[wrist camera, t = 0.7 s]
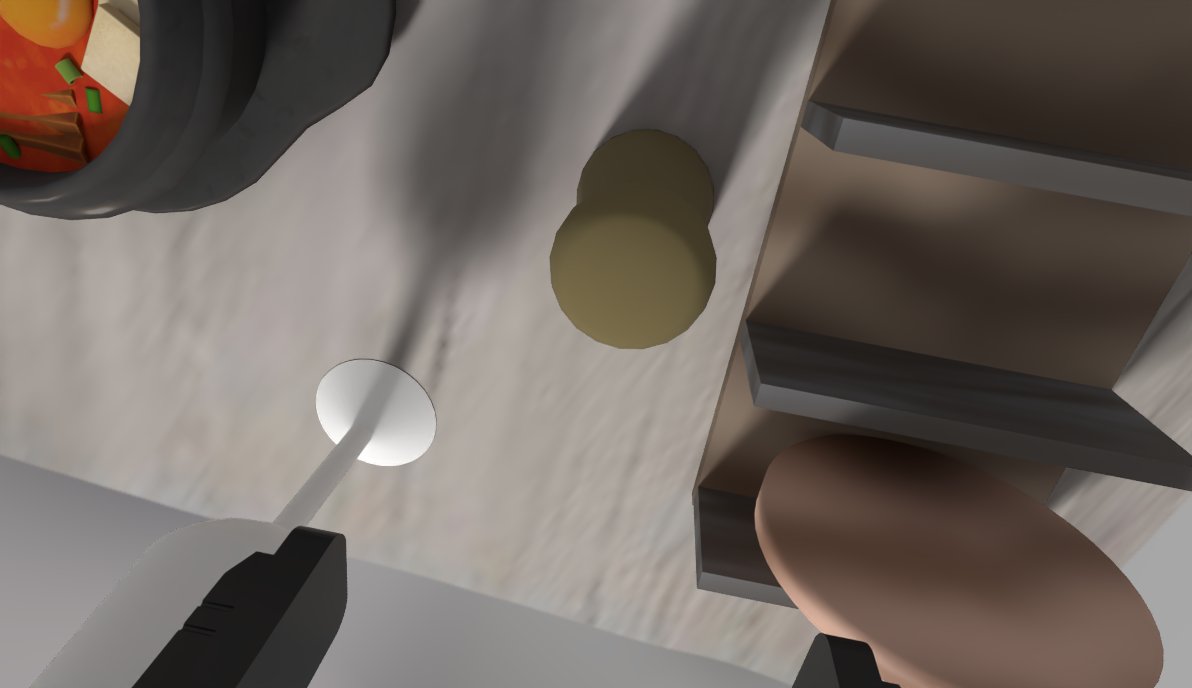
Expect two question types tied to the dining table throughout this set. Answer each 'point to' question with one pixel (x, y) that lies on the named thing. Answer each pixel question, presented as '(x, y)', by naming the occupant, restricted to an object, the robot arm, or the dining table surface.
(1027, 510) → the rack
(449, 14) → the dining table surface
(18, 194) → the casserole
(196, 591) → the champagne flute
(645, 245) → the cork
